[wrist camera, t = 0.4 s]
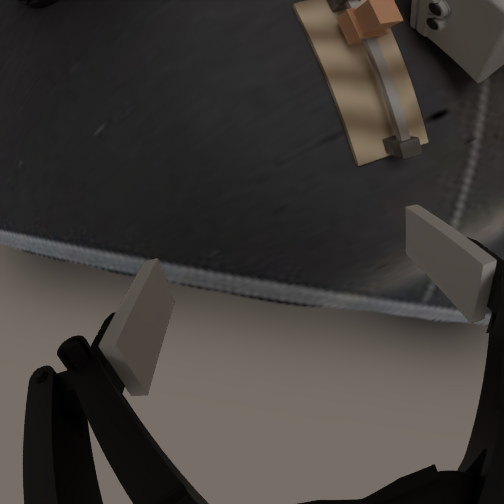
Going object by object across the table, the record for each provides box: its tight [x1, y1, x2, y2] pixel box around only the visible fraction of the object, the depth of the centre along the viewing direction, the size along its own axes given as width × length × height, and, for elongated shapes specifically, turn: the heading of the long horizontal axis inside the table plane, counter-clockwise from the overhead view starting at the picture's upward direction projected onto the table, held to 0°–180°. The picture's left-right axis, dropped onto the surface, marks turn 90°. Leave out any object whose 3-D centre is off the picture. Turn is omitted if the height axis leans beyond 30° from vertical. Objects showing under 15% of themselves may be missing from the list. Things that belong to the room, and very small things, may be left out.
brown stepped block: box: [336, 0, 404, 45], centre depth 25 cm, size 4×4×9 cm
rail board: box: [292, 0, 428, 166], centre depth 32 cm, size 24×12×6 cm, turn 22°
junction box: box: [410, 0, 504, 83], centre depth 21 cm, size 24×15×22 cm
